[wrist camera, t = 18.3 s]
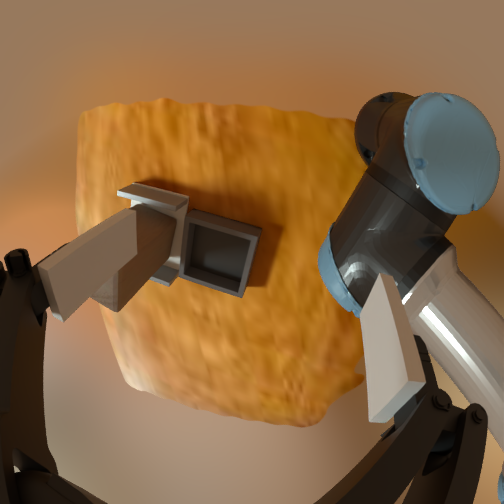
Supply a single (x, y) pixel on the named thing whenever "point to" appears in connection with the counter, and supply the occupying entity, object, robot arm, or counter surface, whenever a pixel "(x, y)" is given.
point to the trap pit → (218, 252)
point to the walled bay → (170, 206)
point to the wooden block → (139, 258)
